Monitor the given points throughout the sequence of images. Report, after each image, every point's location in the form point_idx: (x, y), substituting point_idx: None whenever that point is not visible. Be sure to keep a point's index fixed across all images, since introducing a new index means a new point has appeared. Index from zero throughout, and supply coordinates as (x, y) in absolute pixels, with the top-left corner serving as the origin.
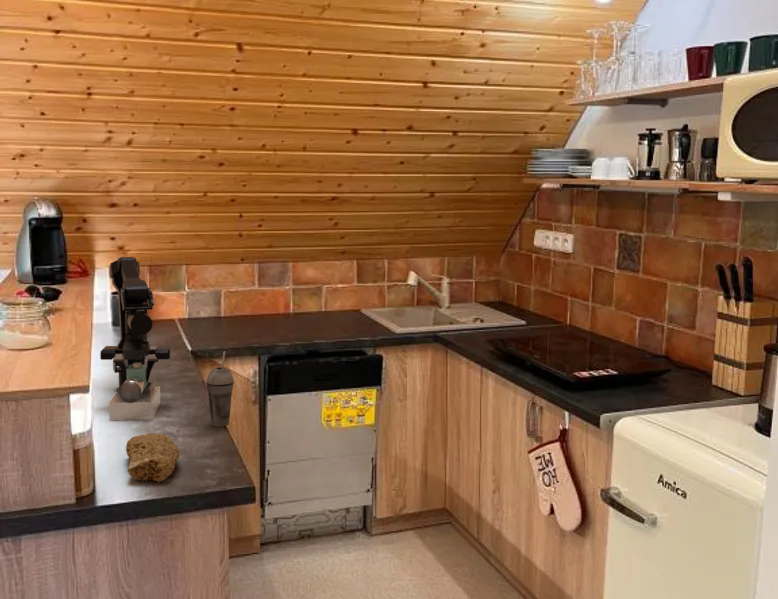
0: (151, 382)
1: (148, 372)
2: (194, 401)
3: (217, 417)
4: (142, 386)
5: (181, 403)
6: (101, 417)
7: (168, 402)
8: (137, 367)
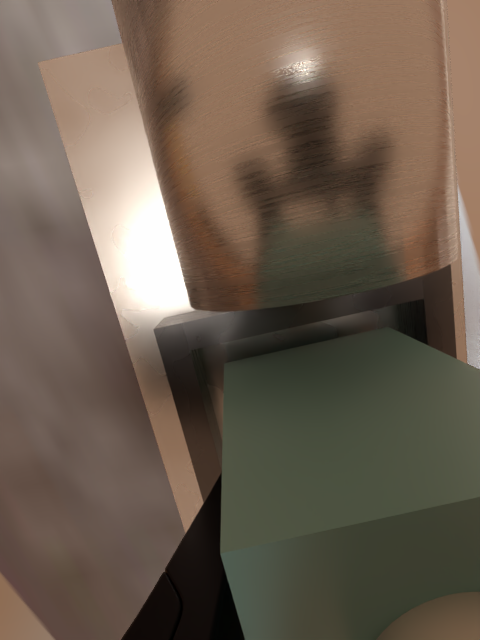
0: None
1: (199, 555)
2: (34, 515)
3: None
4: (146, 131)
5: (86, 472)
6: None
7: (162, 476)
8: (436, 616)
